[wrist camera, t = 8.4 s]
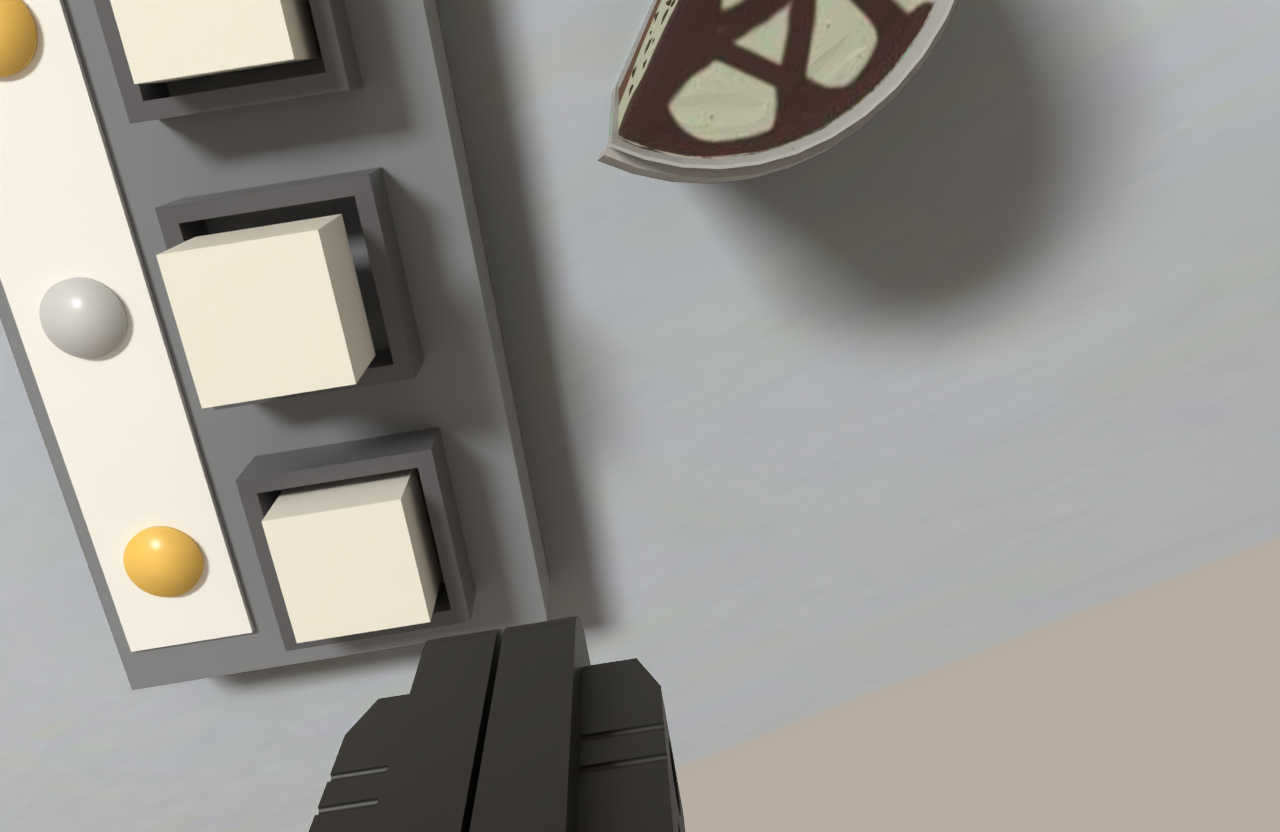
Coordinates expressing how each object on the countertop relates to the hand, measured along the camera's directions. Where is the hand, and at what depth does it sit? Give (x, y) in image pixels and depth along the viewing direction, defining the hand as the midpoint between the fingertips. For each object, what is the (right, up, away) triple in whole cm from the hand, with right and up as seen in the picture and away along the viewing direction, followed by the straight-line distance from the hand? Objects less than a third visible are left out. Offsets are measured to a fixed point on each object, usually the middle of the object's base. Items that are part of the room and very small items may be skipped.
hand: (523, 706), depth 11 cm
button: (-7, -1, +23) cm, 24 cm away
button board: (-11, +8, +24) cm, 27 cm away
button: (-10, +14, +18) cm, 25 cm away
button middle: (-9, +6, +19) cm, 21 cm away
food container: (+5, +16, +22) cm, 28 cm away
